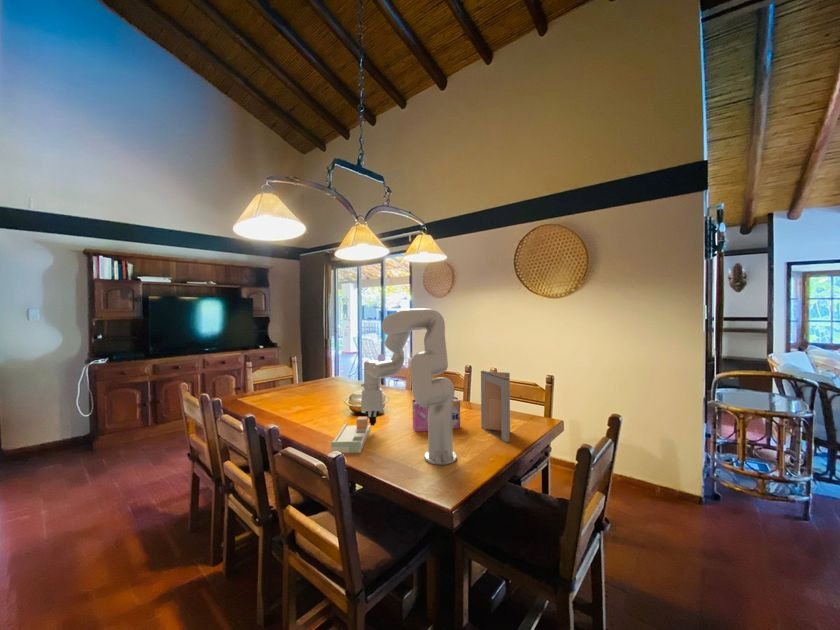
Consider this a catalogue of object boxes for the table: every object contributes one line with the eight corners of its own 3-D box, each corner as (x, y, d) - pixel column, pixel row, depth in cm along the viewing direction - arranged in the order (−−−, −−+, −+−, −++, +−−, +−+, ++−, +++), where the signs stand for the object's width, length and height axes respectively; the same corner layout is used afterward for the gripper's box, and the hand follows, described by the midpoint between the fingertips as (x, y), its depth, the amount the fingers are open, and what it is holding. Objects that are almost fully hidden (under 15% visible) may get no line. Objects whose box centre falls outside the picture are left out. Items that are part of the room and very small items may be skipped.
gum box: (458, 423, 178) (458, 396, 178) (463, 428, 170) (463, 400, 170) (412, 426, 174) (412, 399, 173) (415, 432, 166) (414, 403, 166)
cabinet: (481, 427, 170) (480, 370, 170) (498, 425, 174) (497, 369, 173) (506, 443, 151) (505, 378, 150) (524, 439, 154) (524, 377, 154)
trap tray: (360, 452, 143) (360, 441, 143) (331, 453, 143) (331, 442, 143) (370, 430, 169) (370, 421, 169) (345, 430, 169) (345, 421, 169)
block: (366, 429, 163) (366, 419, 163) (356, 429, 163) (356, 419, 163) (367, 425, 168) (367, 416, 168) (358, 425, 168) (358, 416, 168)
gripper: (354, 388, 162) (355, 427, 162) (387, 388, 161) (387, 427, 162) (358, 384, 169) (358, 422, 170) (388, 384, 169) (389, 422, 169)
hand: (372, 424), depth 166 cm, fingers closed
